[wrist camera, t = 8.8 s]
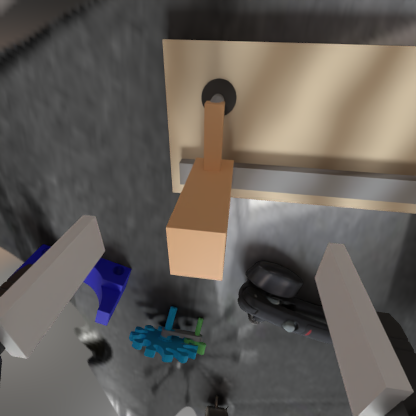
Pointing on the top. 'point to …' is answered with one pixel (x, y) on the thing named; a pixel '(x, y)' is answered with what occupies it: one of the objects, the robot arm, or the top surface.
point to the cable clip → (99, 283)
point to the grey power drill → (216, 410)
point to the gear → (169, 340)
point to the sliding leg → (203, 206)
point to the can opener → (281, 302)
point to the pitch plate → (299, 119)
